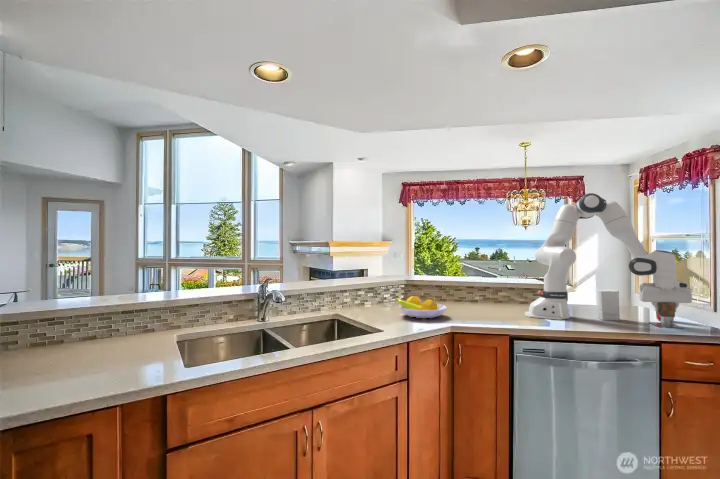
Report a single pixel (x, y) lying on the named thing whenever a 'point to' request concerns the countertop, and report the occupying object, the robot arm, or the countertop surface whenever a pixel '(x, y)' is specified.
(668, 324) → the square metal plate
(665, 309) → the shipping carton
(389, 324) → the countertop surface
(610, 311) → the skincare box
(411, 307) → the fruit bowl
